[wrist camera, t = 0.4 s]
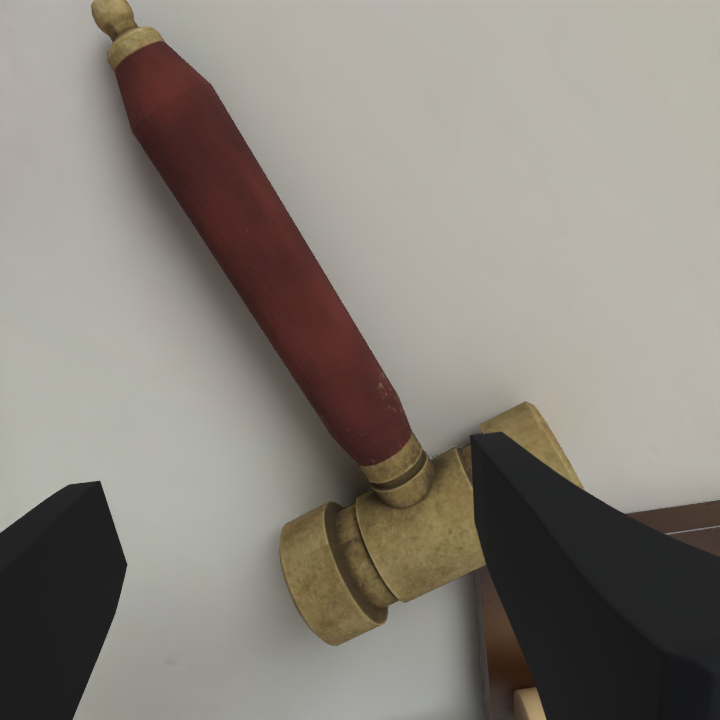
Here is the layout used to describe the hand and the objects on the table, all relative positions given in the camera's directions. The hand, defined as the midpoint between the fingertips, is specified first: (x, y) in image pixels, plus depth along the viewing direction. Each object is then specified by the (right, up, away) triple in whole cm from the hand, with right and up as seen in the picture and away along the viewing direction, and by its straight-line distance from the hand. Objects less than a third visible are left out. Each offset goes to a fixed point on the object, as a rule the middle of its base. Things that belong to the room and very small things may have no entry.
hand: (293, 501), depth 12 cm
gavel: (0, +4, +9) cm, 10 cm away
